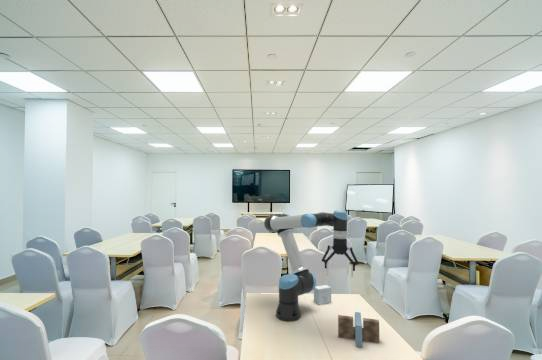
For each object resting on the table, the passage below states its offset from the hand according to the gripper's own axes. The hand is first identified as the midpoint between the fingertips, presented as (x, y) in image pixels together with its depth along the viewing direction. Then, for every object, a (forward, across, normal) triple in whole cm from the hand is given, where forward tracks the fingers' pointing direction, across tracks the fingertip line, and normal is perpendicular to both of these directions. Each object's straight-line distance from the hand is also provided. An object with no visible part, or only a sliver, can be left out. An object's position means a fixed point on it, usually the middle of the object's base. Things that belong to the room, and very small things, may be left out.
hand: (339, 275), depth 157 cm
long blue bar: (+28, +10, -12) cm, 32 cm away
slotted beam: (+28, +10, -12) cm, 32 cm away
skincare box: (+29, -12, +31) cm, 44 cm away
